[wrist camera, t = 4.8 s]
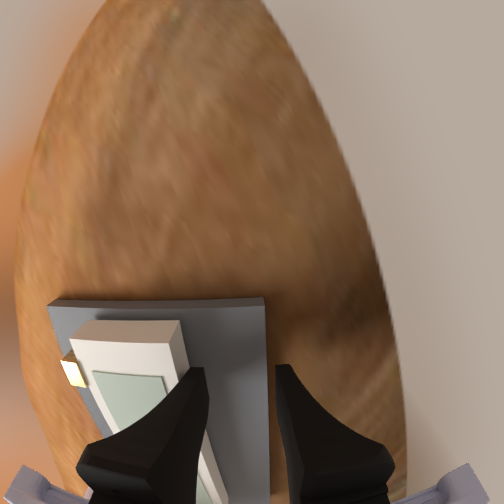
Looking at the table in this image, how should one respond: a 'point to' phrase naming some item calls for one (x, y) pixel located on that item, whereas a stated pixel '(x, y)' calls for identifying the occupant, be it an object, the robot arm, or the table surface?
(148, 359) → the frame
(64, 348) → the board
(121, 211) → the table surface
